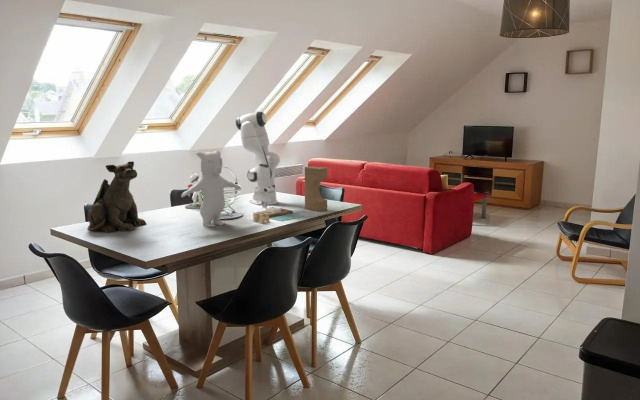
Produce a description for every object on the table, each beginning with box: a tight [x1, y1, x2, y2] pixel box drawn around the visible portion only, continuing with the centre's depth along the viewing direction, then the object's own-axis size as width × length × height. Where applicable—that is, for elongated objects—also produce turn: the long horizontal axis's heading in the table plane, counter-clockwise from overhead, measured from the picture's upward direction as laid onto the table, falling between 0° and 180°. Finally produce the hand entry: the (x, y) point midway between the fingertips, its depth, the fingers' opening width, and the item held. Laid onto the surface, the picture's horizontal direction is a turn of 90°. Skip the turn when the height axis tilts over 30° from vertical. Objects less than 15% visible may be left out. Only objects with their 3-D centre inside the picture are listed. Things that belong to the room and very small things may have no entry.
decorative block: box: [304, 165, 328, 213], centre depth 358 cm, size 15×8×30 cm, turn 48°
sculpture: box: [87, 161, 147, 233], centre depth 301 cm, size 31×36×40 cm
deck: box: [255, 208, 294, 218], centre depth 343 cm, size 13×22×2 cm, turn 133°
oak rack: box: [252, 211, 271, 225], centre depth 321 cm, size 10×6×6 cm, turn 43°
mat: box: [269, 213, 305, 222], centre depth 334 cm, size 12×20×1 cm, turn 133°
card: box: [265, 206, 281, 213], centre depth 344 cm, size 9×6×2 cm, turn 43°
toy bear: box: [180, 150, 242, 228], centre depth 309 cm, size 42×17×45 cm, turn 135°
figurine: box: [184, 172, 203, 210], centre depth 368 cm, size 17×17×25 cm
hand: (264, 207), depth 350 cm, fingers closed
